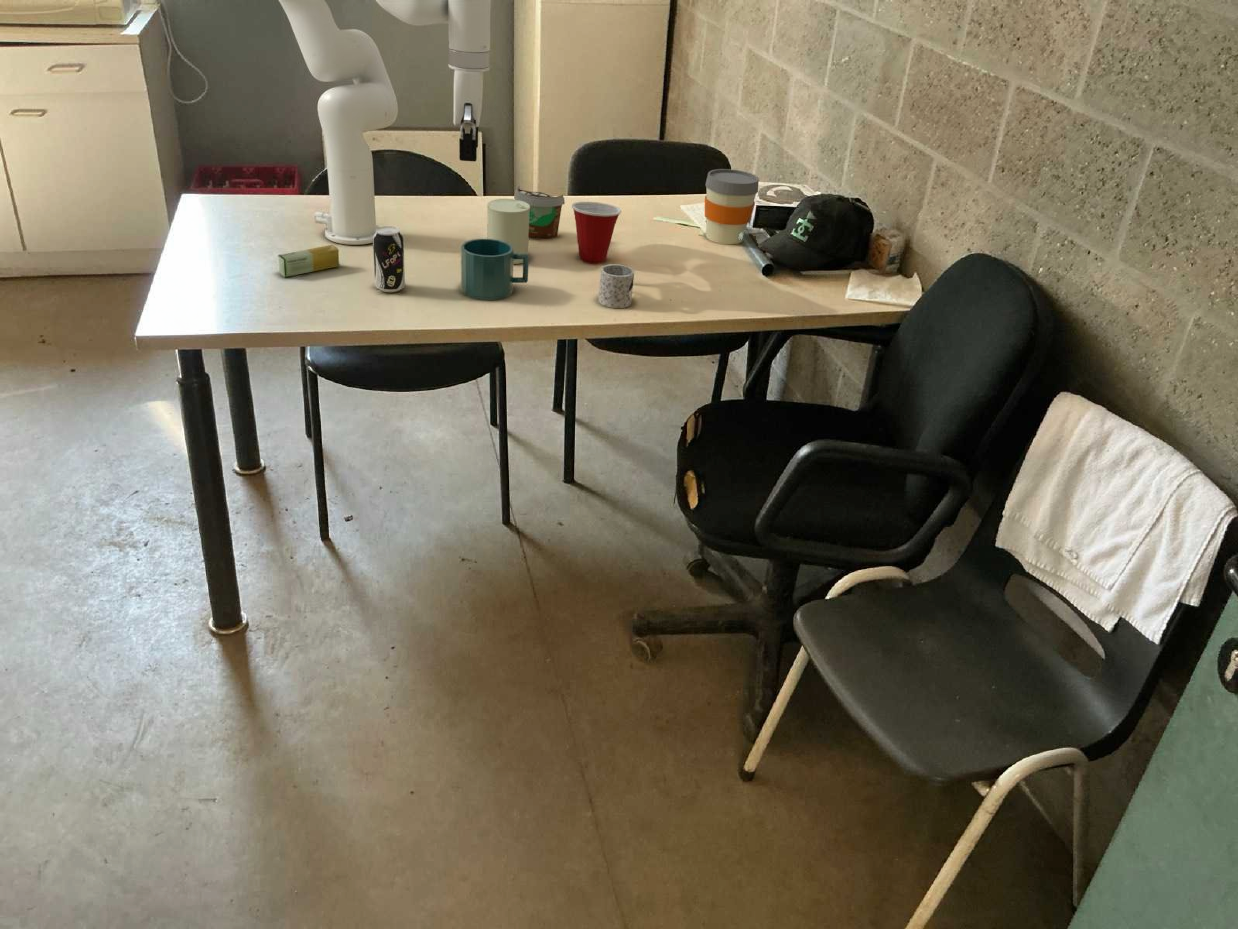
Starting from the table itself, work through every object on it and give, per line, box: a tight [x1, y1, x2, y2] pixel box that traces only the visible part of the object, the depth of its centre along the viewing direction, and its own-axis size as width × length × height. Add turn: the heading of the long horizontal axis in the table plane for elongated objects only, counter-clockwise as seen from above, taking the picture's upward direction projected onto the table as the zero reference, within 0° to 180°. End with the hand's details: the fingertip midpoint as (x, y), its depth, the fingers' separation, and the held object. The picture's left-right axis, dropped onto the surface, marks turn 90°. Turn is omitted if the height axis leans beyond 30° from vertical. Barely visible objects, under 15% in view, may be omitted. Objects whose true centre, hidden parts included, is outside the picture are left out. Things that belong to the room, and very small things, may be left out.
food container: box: [513, 185, 566, 240], centre depth 223 cm, size 12×6×10 cm, turn 68°
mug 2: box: [598, 263, 635, 309], centre depth 195 cm, size 10×7×7 cm, turn 17°
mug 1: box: [460, 238, 530, 301], centre depth 193 cm, size 13×10×9 cm
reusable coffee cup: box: [704, 168, 760, 245], centre depth 232 cm, size 13×13×15 cm
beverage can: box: [372, 225, 406, 293], centre depth 188 cm, size 6×6×12 cm
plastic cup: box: [571, 201, 622, 265], centre depth 212 cm, size 11×11×12 cm
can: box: [486, 198, 530, 265], centre depth 209 cm, size 9×9×12 cm
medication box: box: [277, 244, 340, 279], centre depth 195 cm, size 12×3×4 cm, turn 131°
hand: (468, 153), depth 187 cm, fingers open, 9 cm apart
